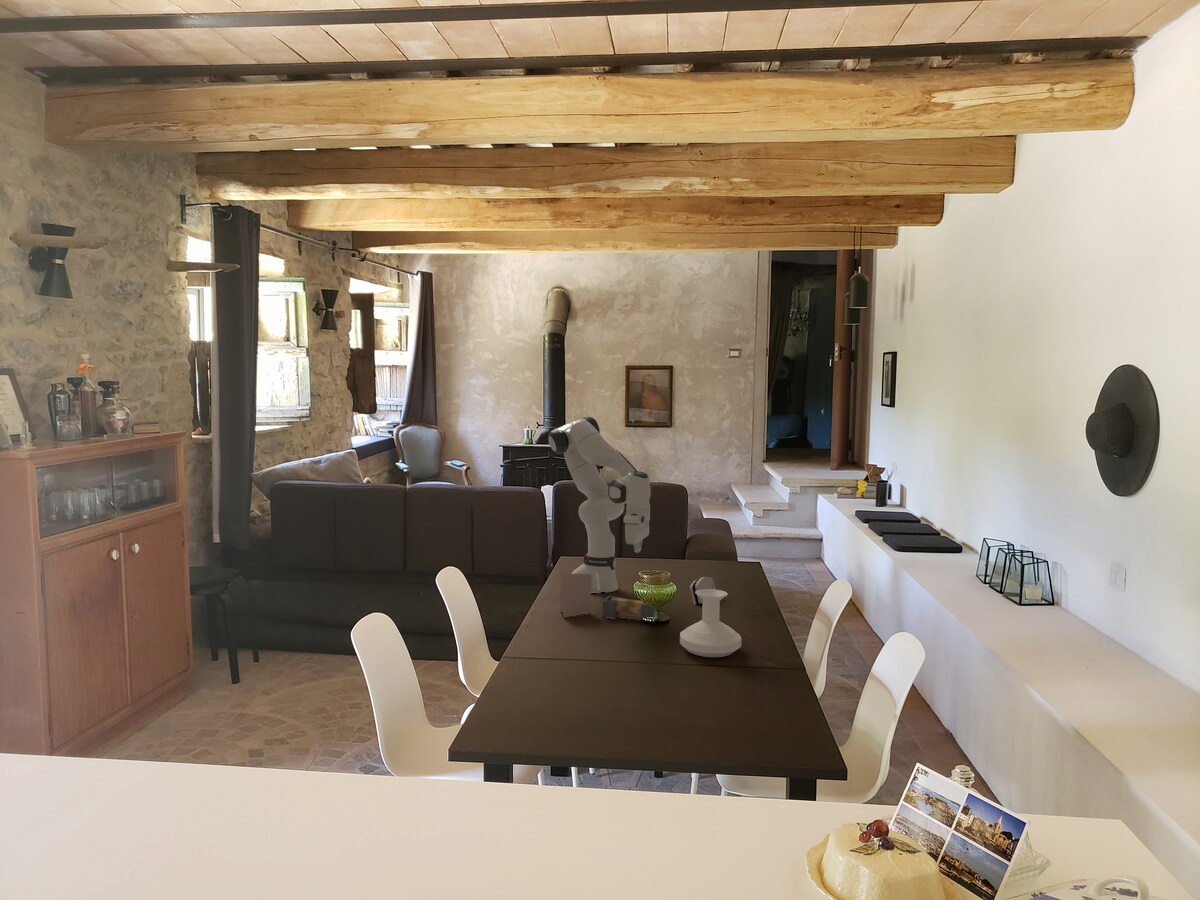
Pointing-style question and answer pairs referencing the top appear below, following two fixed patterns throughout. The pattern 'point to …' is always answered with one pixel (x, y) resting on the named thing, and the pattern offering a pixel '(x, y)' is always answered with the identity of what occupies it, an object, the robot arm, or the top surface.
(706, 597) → the candle holder
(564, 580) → the greeting card
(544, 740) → the top surface
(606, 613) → the end cap frame
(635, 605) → the oak slat
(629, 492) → the robot arm
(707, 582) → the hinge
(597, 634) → the top surface
